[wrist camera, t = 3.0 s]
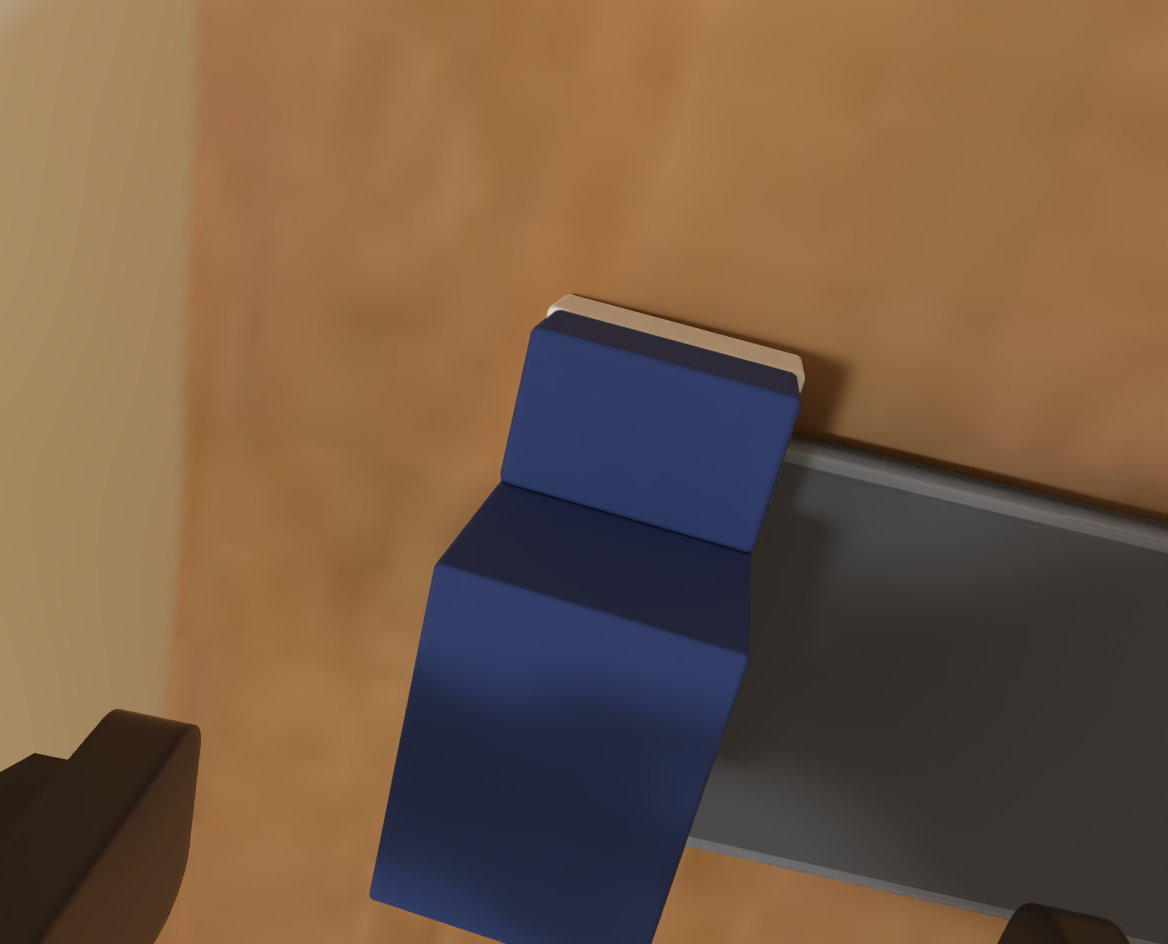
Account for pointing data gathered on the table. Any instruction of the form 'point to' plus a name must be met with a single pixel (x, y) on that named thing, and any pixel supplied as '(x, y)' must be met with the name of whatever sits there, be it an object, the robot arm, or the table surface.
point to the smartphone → (951, 693)
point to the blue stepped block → (588, 633)
